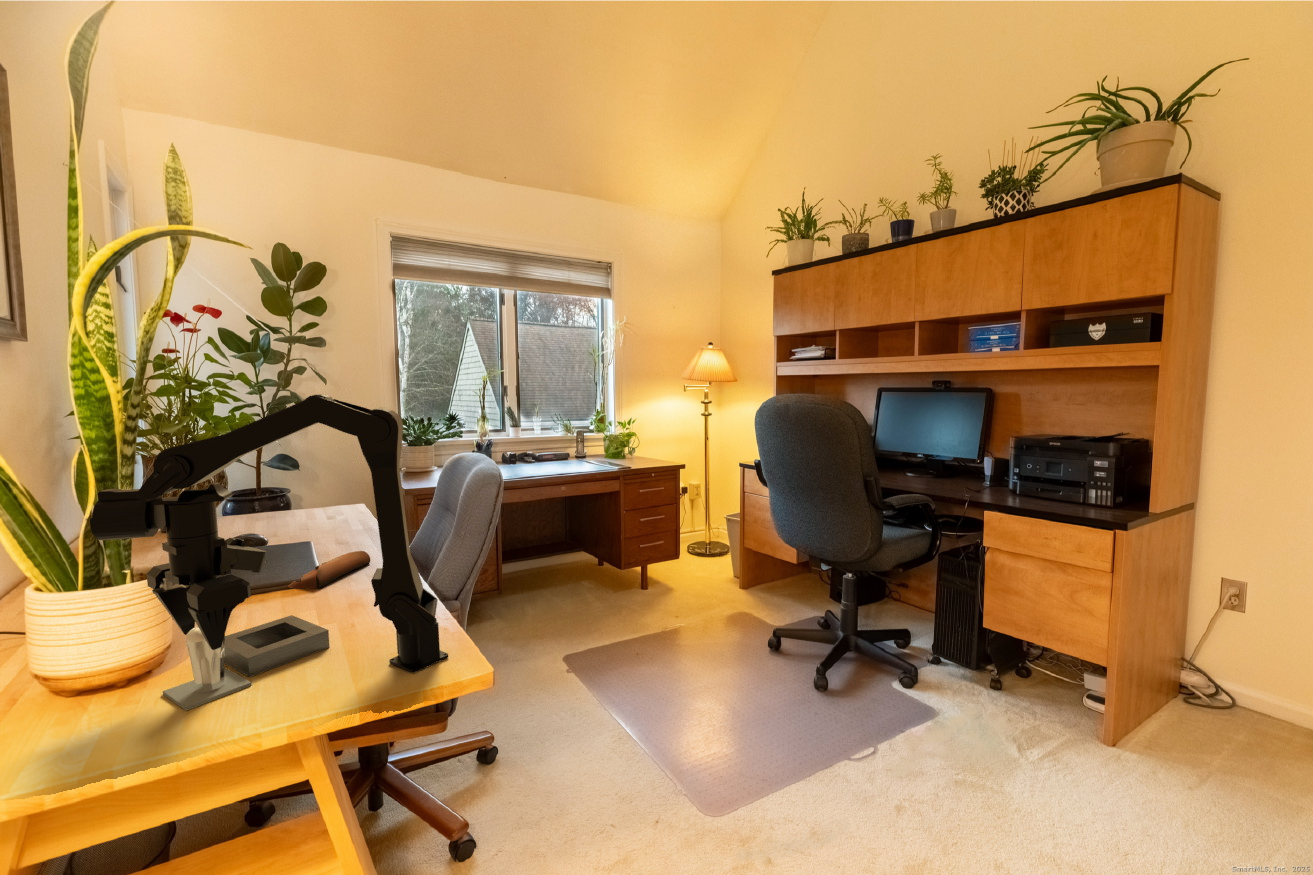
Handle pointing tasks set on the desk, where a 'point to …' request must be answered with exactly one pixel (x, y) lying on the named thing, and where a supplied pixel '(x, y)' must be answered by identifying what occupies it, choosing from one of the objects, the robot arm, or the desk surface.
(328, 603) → the desk surface
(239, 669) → the collar
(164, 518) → the robot arm
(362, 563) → the sunglasses case
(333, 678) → the desk surface
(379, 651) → the desk surface
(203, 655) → the milkshake
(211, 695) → the pad
